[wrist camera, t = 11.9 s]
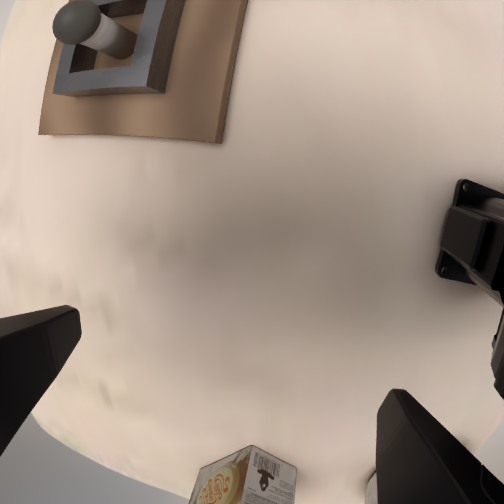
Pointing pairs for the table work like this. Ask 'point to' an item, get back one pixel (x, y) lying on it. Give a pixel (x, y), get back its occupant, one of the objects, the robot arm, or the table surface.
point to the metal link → (143, 61)
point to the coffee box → (246, 480)
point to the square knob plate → (179, 79)
